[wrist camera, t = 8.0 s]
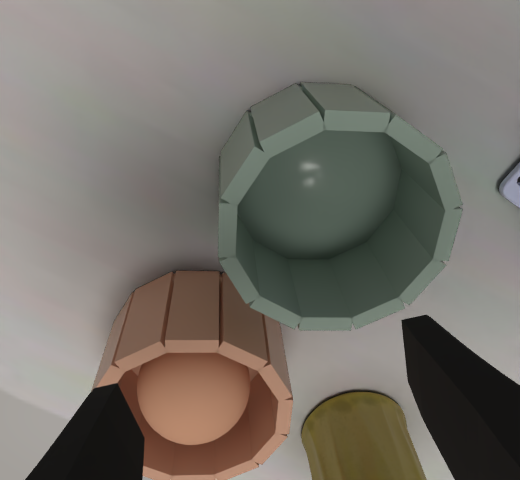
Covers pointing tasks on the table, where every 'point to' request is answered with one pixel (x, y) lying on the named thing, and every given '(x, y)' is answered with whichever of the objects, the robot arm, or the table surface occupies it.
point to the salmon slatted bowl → (202, 341)
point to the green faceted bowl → (332, 208)
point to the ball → (192, 395)
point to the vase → (360, 440)
